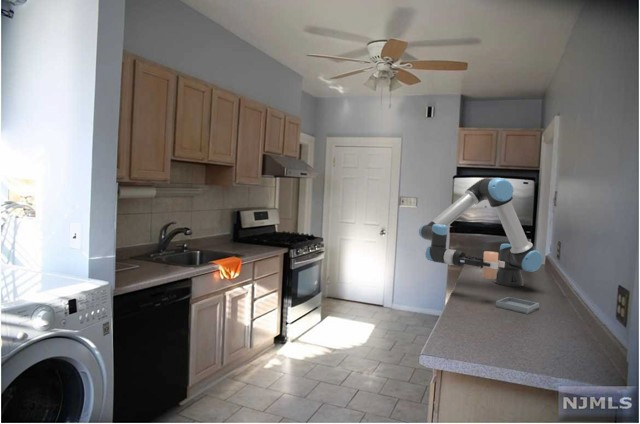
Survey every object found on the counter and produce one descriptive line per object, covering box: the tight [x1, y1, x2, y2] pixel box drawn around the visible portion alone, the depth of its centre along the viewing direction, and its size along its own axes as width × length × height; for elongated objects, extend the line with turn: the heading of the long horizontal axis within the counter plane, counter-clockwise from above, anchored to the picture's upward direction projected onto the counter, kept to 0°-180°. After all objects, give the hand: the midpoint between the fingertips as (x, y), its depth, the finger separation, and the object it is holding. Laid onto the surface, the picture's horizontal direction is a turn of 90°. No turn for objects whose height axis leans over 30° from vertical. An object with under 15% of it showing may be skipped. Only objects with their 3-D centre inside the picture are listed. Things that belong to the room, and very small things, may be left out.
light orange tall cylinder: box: [481, 250, 499, 280], centre depth 209 cm, size 6×6×12 cm
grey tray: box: [495, 296, 540, 315], centre depth 200 cm, size 14×14×2 cm
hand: (501, 265), depth 205 cm, fingers closed on light orange tall cylinder, 6 cm apart
